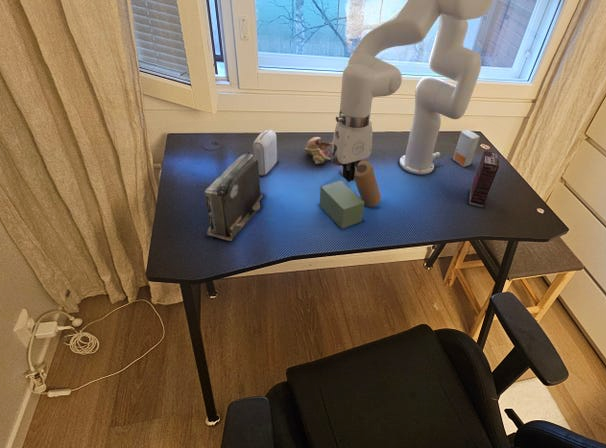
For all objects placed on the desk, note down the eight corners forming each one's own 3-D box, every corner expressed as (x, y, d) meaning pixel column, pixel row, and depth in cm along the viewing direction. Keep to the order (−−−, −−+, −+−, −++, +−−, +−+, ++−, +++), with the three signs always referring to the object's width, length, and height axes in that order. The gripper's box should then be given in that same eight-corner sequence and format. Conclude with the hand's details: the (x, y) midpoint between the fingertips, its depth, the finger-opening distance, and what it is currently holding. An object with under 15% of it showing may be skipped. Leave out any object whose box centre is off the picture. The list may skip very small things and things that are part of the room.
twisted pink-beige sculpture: (332, 169, 134) (313, 154, 127) (311, 171, 140) (292, 156, 133) (340, 146, 137) (322, 130, 130) (319, 148, 143) (301, 133, 136)
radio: (248, 187, 119) (244, 144, 110) (274, 195, 118) (273, 152, 109) (200, 234, 102) (190, 187, 92) (230, 244, 100) (223, 197, 91)
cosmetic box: (452, 159, 150) (460, 131, 143) (459, 157, 153) (468, 128, 145) (463, 167, 147) (473, 138, 140) (471, 164, 150) (480, 136, 142)
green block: (339, 199, 122) (340, 180, 117) (361, 221, 115) (364, 202, 111) (319, 205, 118) (320, 186, 113) (341, 229, 111) (343, 209, 107)
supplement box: (483, 207, 129) (499, 166, 119) (468, 204, 129) (483, 163, 119) (483, 193, 136) (498, 153, 126) (469, 190, 136) (483, 149, 126)
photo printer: (266, 158, 133) (265, 124, 125) (278, 161, 132) (277, 127, 124) (252, 174, 125) (249, 139, 117) (265, 177, 124) (263, 142, 117)
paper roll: (370, 197, 126) (384, 156, 118) (381, 208, 123) (396, 166, 115) (337, 202, 117) (350, 158, 110) (348, 214, 114) (362, 169, 106)
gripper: (337, 129, 92) (332, 193, 104) (387, 119, 100) (377, 179, 112) (320, 116, 96) (317, 178, 108) (369, 106, 104) (362, 165, 116)
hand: (348, 178), depth 110 cm, fingers closed
